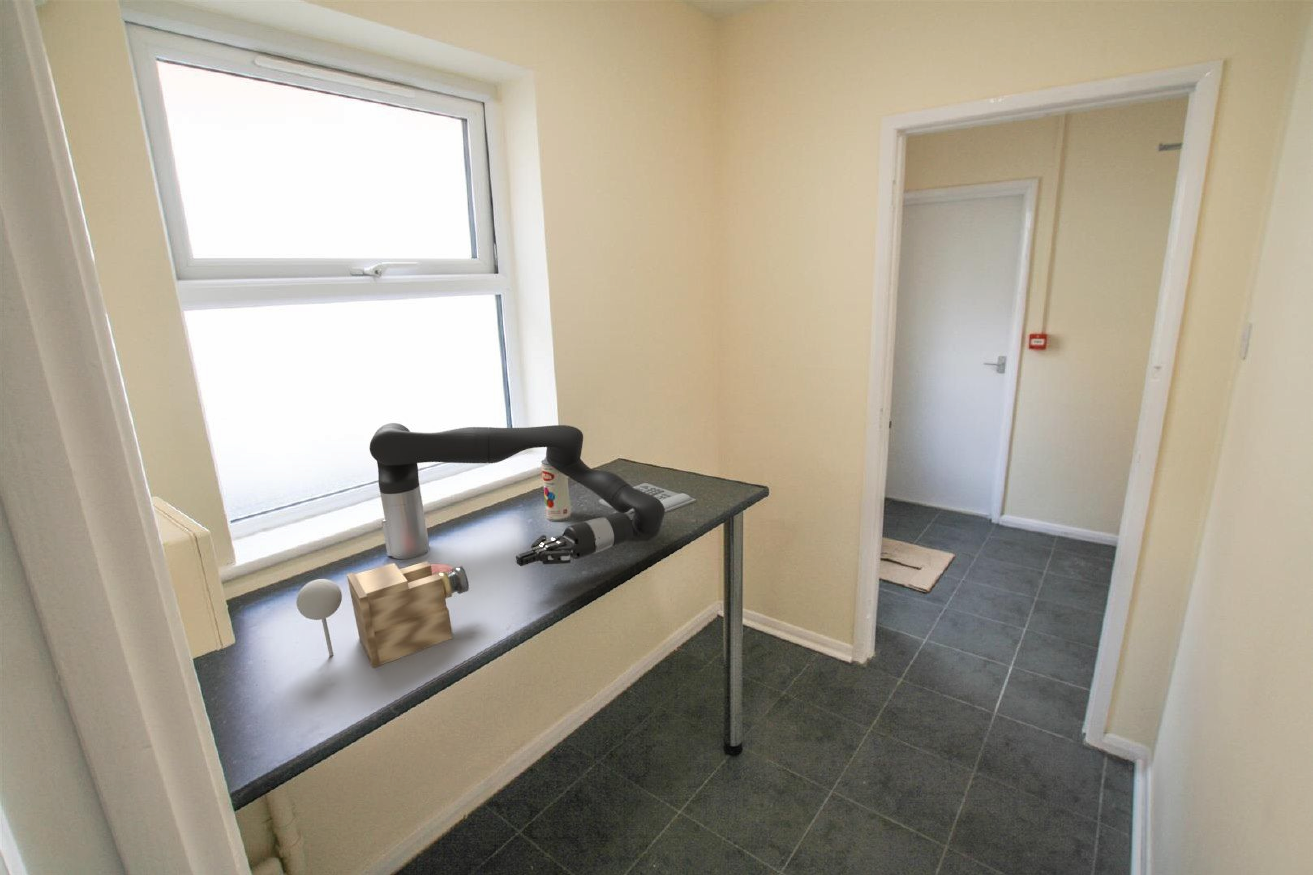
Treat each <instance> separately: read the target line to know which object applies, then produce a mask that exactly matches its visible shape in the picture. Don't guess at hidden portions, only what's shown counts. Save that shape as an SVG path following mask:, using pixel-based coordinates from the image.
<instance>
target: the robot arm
mask: <svg viewBox="0 0 1313 875" xmlns="http://www.w3.org/2000/svg"><path fill="white" fill-rule="evenodd" d="M583 442H584V434H583V432H582V431H581V430H580V429H579V428H577V427H575V426H573V425H572V426H571V425H565V424H559V425H558V424H557V425H556V424H555V425H545V426H544V425H542V426H531V427H529V426H528V427H488V426H485V427H484V426H470V427H469V426H468V427H459V428H454V429H449V430H444V431H443V430H442V431H438V432H419V431H418V432H416V431H411V430H410V429H409V428H408V427H406V426H405V425H403V424H401V423H395V422H390V423H386V424H384V425H382V426H380V427H379V428H378V429H377V430H376V431H375V433H374V434H373V436H372V438H371V440H370V443H369V453H370V455H371V456H372V458H373V459H374V460H376V462H377V463H376V465H377V472H378V488H379V489H378V490H379V492H380V498H381V504H382V509H383V516H384V519H383V520H381V526H382V531H383V536H384V537H383V538H384V544H385V548H386V554H387V557H391V558H393V559H397V560H407V559H412V558H416V557H418V556H421V555H423V554H425V553H427V552H428V551H429V549H430V544H429V543H430V541H429V536H428V530H427V523H426V518H425V517H426V516H425V510H424V506H423V499H422V493H421V486H420V480H419V478H420V477H419V466H418V464H422V463H423V464H424V463H450V464H496V463H499V462H500V463H501V462H502V461H505V460H506V459H509V458H511V457H513V456H515V455H517V454H519V453H521V452H523V451H526V450H529V449H535V448H536V449H537V448H546V450H545V451H546V452H545V457H546V459H547V462H548V463H549V464H550V465H551V466H552V467H553V468H554V469H556V470H557V471H559V472H561V473H563V474H564V475H566V476H567V478H569V479H571V480H573V481H574V482H576V483H578V484H580V485H581V486H583V487H585V488H587V489H589V490H590V491H592V492H593V493H594V494H596V495H597V496H598V497H600V498H601V499H603V500H604V501H606V502H607V503H608V504H609V505H610V506H611V507H613V508H612V509H614V511H617V512H616V513H615V512H614V513H612V514H609V515H606V516H602V517H598V518H592V519H589V520H586V521H582V522H579V523H576V524H571V525H569V526H567V527H565V529H564V532H563V533H562V535H556V536H552V537H551V538H547V535H546V534H544V535H540V536H539V537H538V538H537V539H536V540H535V541H534V542H533V543H531V544H530V548H531V549H530V550H528V551H524V552H521V553H518V554H517V555H516V556H515V562H516V565H518V566H519V567H525V566H527V565H529V564H530V565H531V564H532V563H535V562H536V563H542V565H560V564H562V565H565V564H570V563H572V562H571V559H573V560H580V559H583V558H585V557H588V556H591V555H594V554H598V553H600V552H602V551H605V550H607V549H608V548H612V547H614V546H617V545H619V544H622V543H624V542H625V543H627V542H630V543H633V542H634V543H635V542H647V541H650V540H651V539H654V538H655V537H656V536H657V535H659V533H660V531H661V527H662V523H663V521H664V518H665V514H666V512H665V508H664V506H663V504H662V503H661V501H660V500H659V499H657V498H656V497H654V496H651V495H649V494H646V493H644V492H642V491H639V490H637V489H634V488H633V487H634V486H632V485H631V484H629V483H628V482H627V481H625V480H624V479H623V478H622V477H620V476H619V475H618V474H616V473H614V472H611V471H607V470H597V469H593V468H590V466H588V465H587V464H586V463H585V462H584V461H583V460H582V458H581V457H582V450H583ZM611 507H610V508H611ZM632 508H633V509H634V510H635V511H634V512H633V513H634V514H633V517H632V519H631V518H630V517H629V515H627V513H626V512H628V511H630V510H631V509H632Z"/></svg>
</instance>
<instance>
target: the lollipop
mask: <svg viewBox="0 0 1313 875" xmlns="http://www.w3.org/2000/svg"><path fill="white" fill-rule="evenodd" d="M342 597H343V596H342V590H341V588H340V587H339V585H338V584H337V583H336V582H334V581H332V580H330V579H328V578H318V579H317V578H316V579H314V580H311V581H309V582H307V583H306V584H304V586H302V588H301V589H300V590H299V592H298V594H297V597H296V607H297V610H298V612H299V613H300V615H302V616H303V617H305V618H306V619H309V620H314V621H319V620H321V623H322V626H323V631H324V636H325V640H326V641H325V642H326V645H327V652H328V656H329V657H332V655H333V656H334V650H333V646H332V641H331V637H330V636H331V635H330V632H329V628H328V622H327V618H329V617H331V616H332V615H333V614H335V613H336V612H337V610H338V609H339V608H340V606H341V603H342V601H343V600H342V599H343V598H342Z"/></svg>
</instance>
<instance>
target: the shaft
mask: <svg viewBox="0 0 1313 875" xmlns="http://www.w3.org/2000/svg"><path fill="white" fill-rule="evenodd" d="M436 574H439V575H440V576H441V577H442V580H443V587H444V593H445V599H448V598H451V597H453V594H454V593H457V594H458V595H460V594H464V593H466V592H469V589H470V587H469V586H470V585H469V580H468V579H469V578H468V576H467V573H466V570H465V568H464V567H463V566H462V565H460V566H456V567H453V568H452V570H451V571H450V572H449V573H446V572H445V571H443V572H439V573H436Z"/></svg>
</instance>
